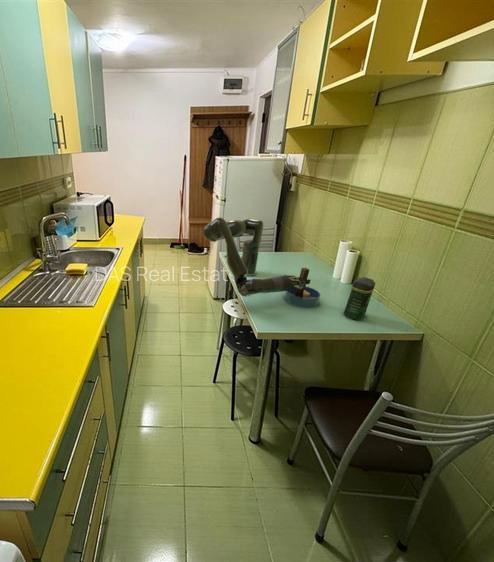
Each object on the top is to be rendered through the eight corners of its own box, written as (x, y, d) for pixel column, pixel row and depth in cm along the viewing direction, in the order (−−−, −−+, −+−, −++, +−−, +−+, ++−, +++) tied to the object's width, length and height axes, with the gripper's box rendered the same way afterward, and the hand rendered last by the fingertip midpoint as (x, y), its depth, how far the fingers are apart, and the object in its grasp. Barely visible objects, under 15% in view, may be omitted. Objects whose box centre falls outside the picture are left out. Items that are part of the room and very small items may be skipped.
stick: (294, 297, 154) (301, 267, 148) (298, 296, 155) (305, 267, 149) (297, 299, 152) (305, 269, 146) (301, 299, 153) (309, 269, 147)
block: (297, 298, 156) (298, 291, 155) (303, 297, 157) (304, 290, 156) (302, 301, 153) (304, 294, 151) (308, 300, 154) (310, 293, 152)
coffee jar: (359, 322, 136) (371, 285, 129) (341, 315, 141) (351, 279, 134) (367, 315, 142) (378, 279, 135) (348, 309, 147) (359, 274, 140)
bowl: (277, 295, 160) (279, 287, 158) (302, 291, 164) (304, 283, 162) (298, 310, 146) (300, 300, 144) (325, 305, 150) (327, 296, 148)
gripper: (289, 282, 138) (319, 278, 143) (270, 271, 150) (299, 268, 155) (286, 297, 141) (316, 292, 146) (268, 285, 153) (296, 281, 158)
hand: (307, 280), depth 151 cm, fingers closed on stick, 2 cm apart
